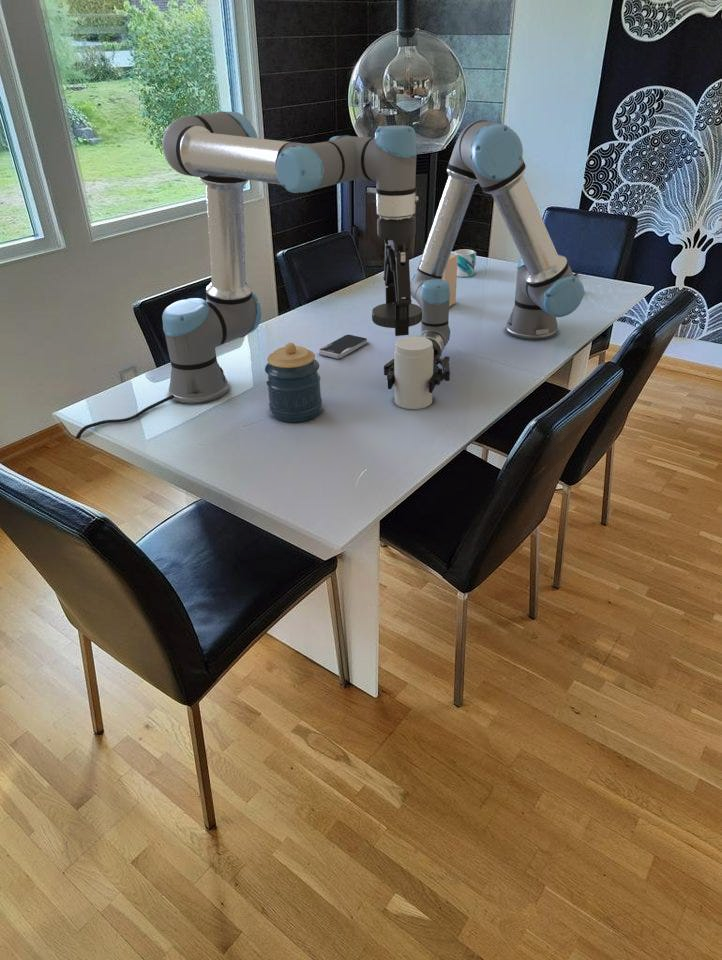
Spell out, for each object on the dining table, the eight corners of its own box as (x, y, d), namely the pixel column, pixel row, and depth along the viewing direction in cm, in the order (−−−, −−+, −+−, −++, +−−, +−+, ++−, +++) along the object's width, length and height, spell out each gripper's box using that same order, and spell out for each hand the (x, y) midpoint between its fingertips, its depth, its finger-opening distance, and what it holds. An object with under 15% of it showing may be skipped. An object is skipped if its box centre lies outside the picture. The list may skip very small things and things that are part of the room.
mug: (449, 275, 259) (450, 253, 254) (462, 267, 267) (463, 245, 262) (469, 277, 255) (470, 255, 250) (481, 269, 263) (483, 247, 259)
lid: (385, 308, 147) (385, 299, 146) (429, 314, 143) (429, 305, 142) (363, 324, 140) (363, 314, 139) (410, 331, 135) (410, 321, 134)
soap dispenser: (444, 310, 225) (446, 242, 213) (422, 306, 229) (423, 239, 217) (461, 299, 234) (464, 233, 222) (439, 295, 238) (440, 231, 226)
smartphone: (368, 338, 202) (338, 355, 192) (368, 342, 203) (339, 359, 192) (347, 334, 206) (317, 350, 195) (347, 338, 206) (317, 354, 196)
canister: (275, 426, 159) (266, 357, 150) (266, 403, 170) (257, 337, 160) (328, 418, 162) (323, 349, 153) (316, 396, 173) (310, 330, 163)
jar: (440, 401, 168) (442, 343, 160) (411, 412, 163) (412, 353, 155) (414, 389, 175) (415, 333, 166) (386, 400, 170) (386, 342, 161)
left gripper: (428, 227, 121) (426, 343, 133) (404, 203, 140) (404, 307, 152) (387, 230, 120) (388, 347, 132) (368, 205, 139) (371, 309, 151)
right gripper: (468, 367, 179) (454, 404, 161) (387, 360, 185) (366, 395, 167) (469, 340, 175) (456, 375, 157) (387, 334, 181) (365, 367, 163)
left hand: (397, 325), depth 142 cm, fingers closed on lid, 10 cm apart
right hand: (409, 385), depth 162 cm, fingers closed on jar, 9 cm apart
